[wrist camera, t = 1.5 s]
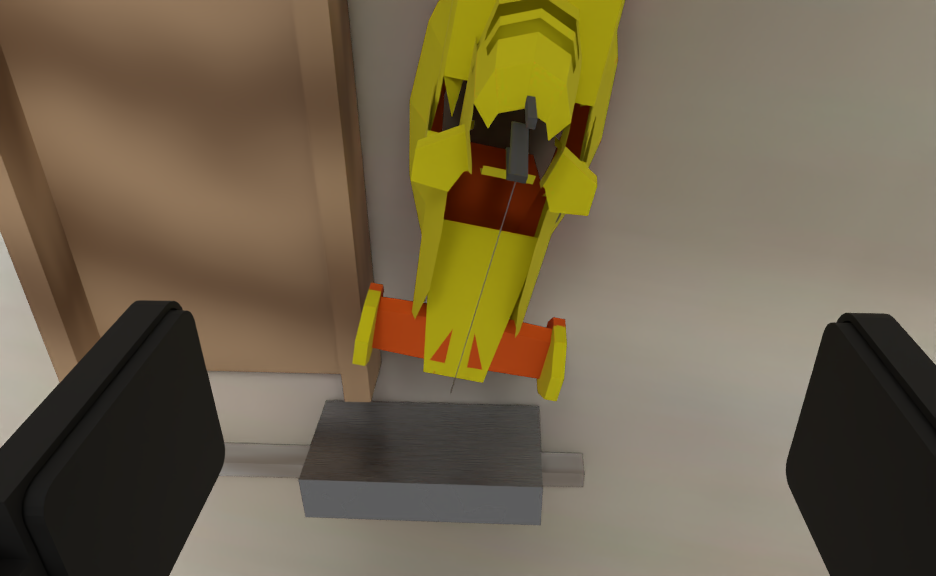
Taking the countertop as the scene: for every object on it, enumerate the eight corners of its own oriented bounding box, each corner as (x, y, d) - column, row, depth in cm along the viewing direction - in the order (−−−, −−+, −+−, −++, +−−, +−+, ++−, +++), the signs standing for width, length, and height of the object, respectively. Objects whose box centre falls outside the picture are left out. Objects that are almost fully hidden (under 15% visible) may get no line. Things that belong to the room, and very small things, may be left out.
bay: (-182, -442, 17) (-282, -486, 15) (671, -476, 16) (696, -529, 14) (131, 453, 32) (103, 494, 30) (580, 466, 31) (585, 511, 29)
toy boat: (377, 303, 27) (316, 500, 19) (462, -273, 18) (416, -399, 10) (538, 333, 28) (550, 541, 19) (701, -218, 18) (864, -292, 10)
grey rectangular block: (326, 400, 30) (298, 479, 26) (538, 406, 29) (542, 487, 25) (331, 435, 31) (305, 517, 27) (537, 441, 30) (540, 525, 27)
